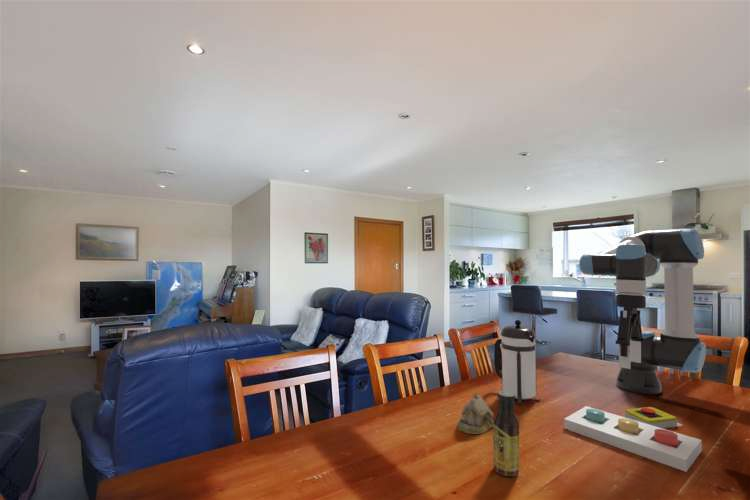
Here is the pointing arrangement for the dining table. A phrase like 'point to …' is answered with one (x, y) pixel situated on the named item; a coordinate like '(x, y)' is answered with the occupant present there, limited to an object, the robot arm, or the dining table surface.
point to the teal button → (595, 416)
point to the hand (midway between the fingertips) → (630, 364)
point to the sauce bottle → (506, 436)
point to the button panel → (636, 439)
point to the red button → (666, 438)
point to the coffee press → (517, 361)
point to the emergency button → (652, 417)
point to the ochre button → (628, 426)
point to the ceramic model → (476, 416)
